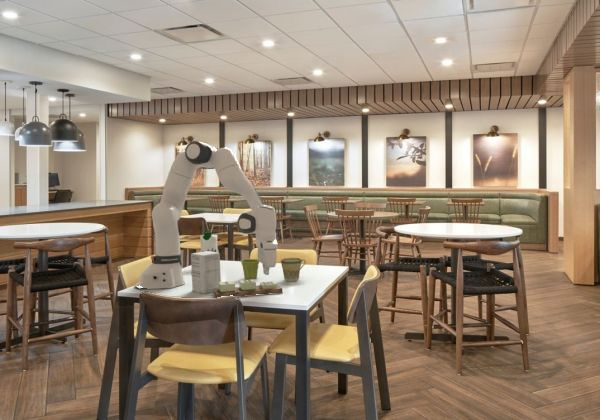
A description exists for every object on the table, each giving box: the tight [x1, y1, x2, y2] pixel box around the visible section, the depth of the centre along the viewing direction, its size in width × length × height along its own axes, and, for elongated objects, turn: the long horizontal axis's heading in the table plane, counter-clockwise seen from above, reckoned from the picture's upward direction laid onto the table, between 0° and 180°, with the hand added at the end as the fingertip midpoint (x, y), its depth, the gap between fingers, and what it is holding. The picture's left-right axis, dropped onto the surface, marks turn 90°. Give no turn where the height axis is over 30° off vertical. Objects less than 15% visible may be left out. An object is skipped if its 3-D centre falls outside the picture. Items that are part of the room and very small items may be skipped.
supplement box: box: [190, 251, 222, 294], centre depth 221 cm, size 10×9×17 cm
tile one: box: [218, 280, 236, 292], centre depth 211 cm, size 6×6×3 cm
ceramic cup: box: [280, 257, 306, 282], centre depth 241 cm, size 13×10×10 cm
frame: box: [212, 284, 283, 298], centre depth 214 cm, size 28×10×2 cm, turn 107°
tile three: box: [259, 280, 278, 289], centre depth 217 cm, size 6×6×3 cm
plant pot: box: [240, 258, 261, 280], centre depth 247 cm, size 9×9×9 cm
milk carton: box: [199, 231, 219, 253], centre depth 281 cm, size 9×9×20 cm
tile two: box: [238, 278, 257, 290], centre depth 214 cm, size 6×6×3 cm
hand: (266, 274), depth 216 cm, fingers closed
